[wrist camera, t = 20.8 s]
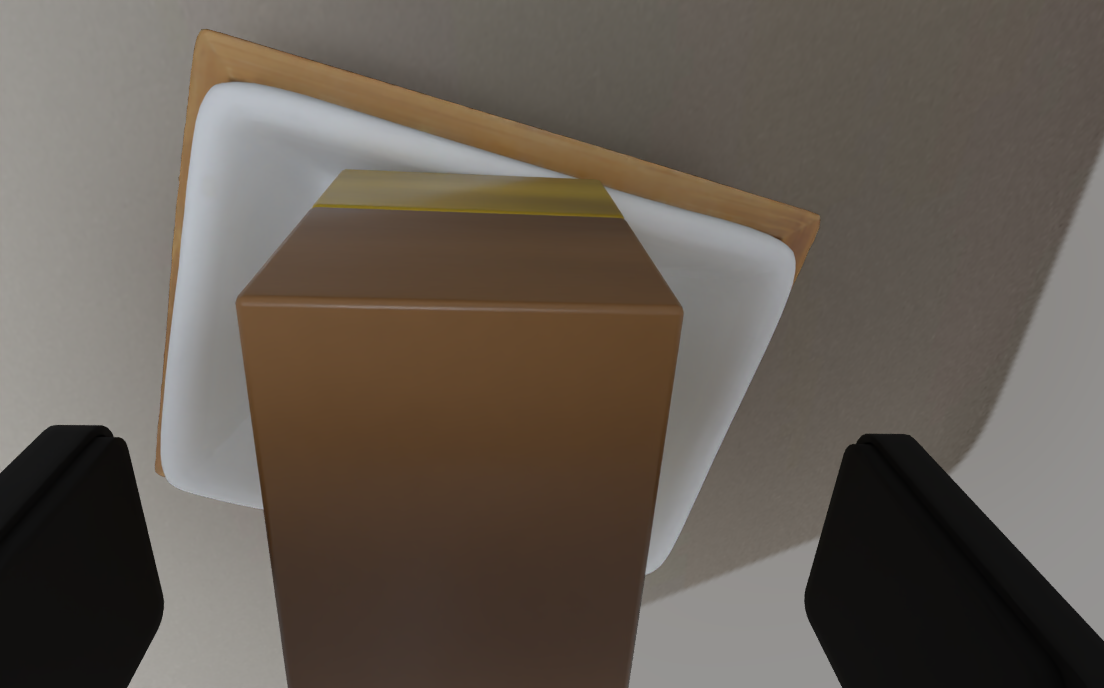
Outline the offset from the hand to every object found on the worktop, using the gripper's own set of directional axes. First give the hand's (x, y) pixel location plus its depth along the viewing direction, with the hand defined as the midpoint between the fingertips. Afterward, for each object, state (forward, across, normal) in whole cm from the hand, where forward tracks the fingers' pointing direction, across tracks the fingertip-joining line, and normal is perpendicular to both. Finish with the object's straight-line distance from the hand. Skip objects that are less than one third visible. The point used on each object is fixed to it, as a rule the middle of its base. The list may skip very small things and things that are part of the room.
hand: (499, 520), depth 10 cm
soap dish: (+10, +1, +1) cm, 10 cm away
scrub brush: (+5, 0, 0) cm, 5 cm away
